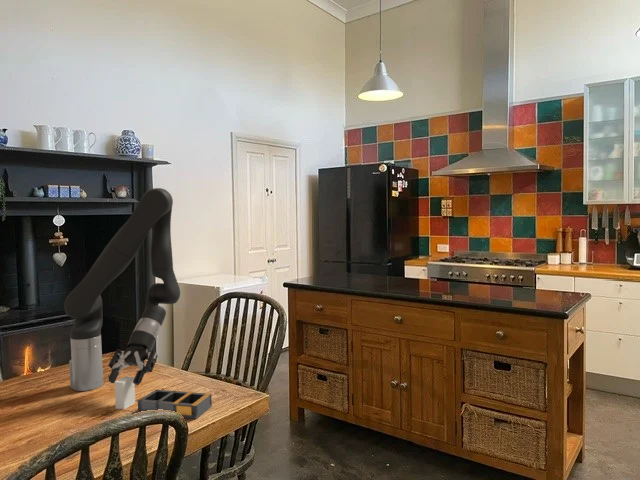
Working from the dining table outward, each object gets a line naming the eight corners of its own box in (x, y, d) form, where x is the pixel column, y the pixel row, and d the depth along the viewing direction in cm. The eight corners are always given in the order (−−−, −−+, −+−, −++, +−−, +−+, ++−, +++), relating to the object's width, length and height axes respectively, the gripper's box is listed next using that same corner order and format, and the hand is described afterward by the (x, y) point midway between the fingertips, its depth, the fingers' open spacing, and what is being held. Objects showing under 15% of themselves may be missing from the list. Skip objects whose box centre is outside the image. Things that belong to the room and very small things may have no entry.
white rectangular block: (115, 408, 139) (114, 382, 139) (126, 402, 144) (125, 376, 143) (124, 409, 138) (123, 382, 138) (135, 402, 143) (134, 377, 143)
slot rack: (137, 414, 134) (136, 400, 134) (156, 401, 143) (156, 388, 143) (195, 419, 130) (194, 405, 129) (211, 406, 138) (211, 392, 138)
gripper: (119, 328, 150) (96, 376, 139) (159, 329, 146) (137, 378, 135) (131, 340, 155) (109, 387, 144) (169, 342, 151) (149, 390, 141)
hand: (123, 383), depth 140 cm, fingers open, 8 cm apart
